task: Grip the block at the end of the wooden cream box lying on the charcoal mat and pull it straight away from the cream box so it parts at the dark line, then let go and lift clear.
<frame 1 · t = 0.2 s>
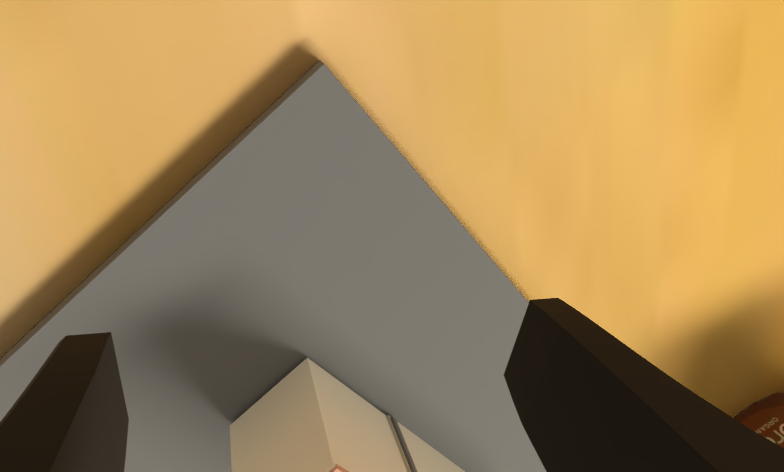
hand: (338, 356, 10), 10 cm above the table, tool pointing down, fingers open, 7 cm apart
food container: (738, 429, 35), on the table
mat: (349, 431, 25), on the table
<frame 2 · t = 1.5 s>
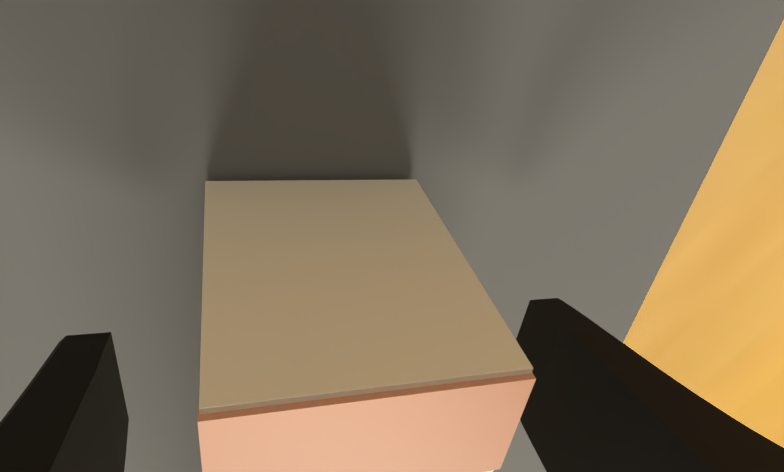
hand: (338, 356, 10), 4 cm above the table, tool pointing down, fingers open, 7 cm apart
mat: (299, 338, 14), on the table
block: (330, 369, 10), point 4 cm above the table, slide at 0.0 cm
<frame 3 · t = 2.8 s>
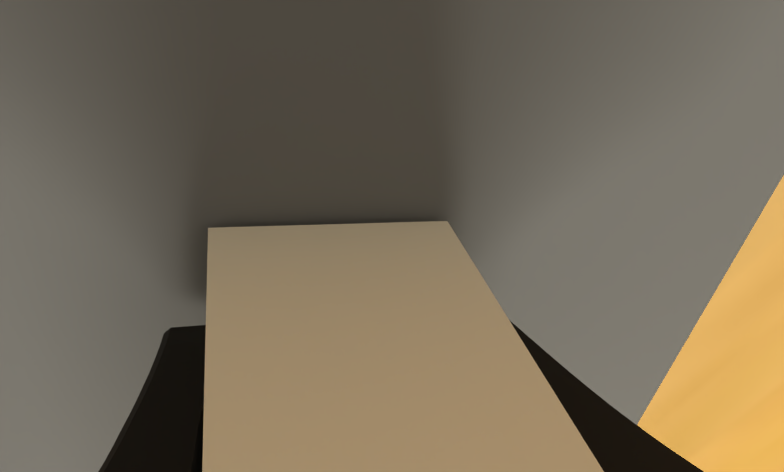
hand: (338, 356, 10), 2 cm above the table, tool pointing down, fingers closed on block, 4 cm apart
mat: (311, 386, 13), on the table
block: (352, 446, 9), point 4 cm above the table, slide at 0.0 cm, touching gripper
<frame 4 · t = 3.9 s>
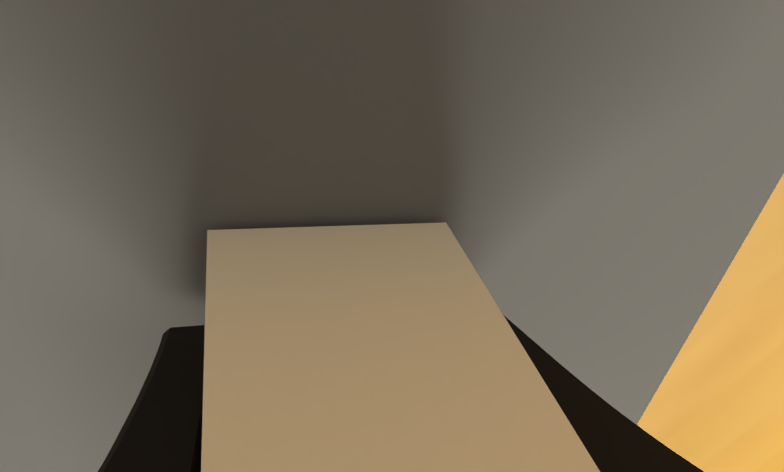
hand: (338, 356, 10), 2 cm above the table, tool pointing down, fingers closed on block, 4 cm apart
mat: (306, 456, 15), on the table
block: (351, 448, 9), point 4 cm above the table, slide at 2.8 cm, touching gripper
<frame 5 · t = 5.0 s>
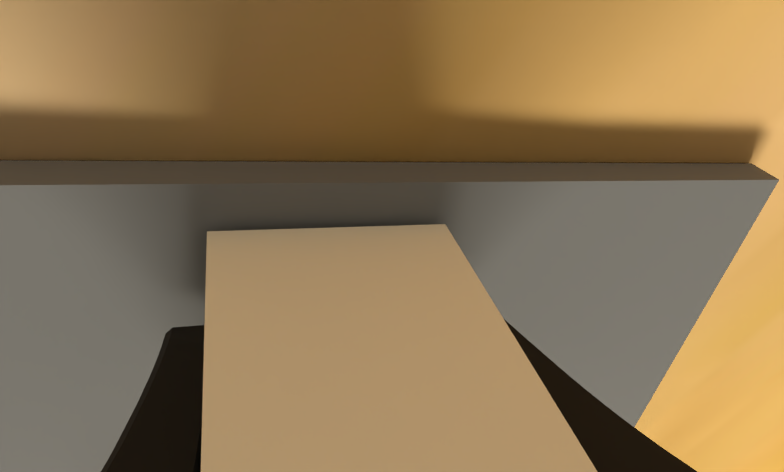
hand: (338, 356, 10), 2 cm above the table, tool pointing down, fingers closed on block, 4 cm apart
block: (350, 449, 9), point 4 cm above the table, slide at 6.9 cm, touching gripper
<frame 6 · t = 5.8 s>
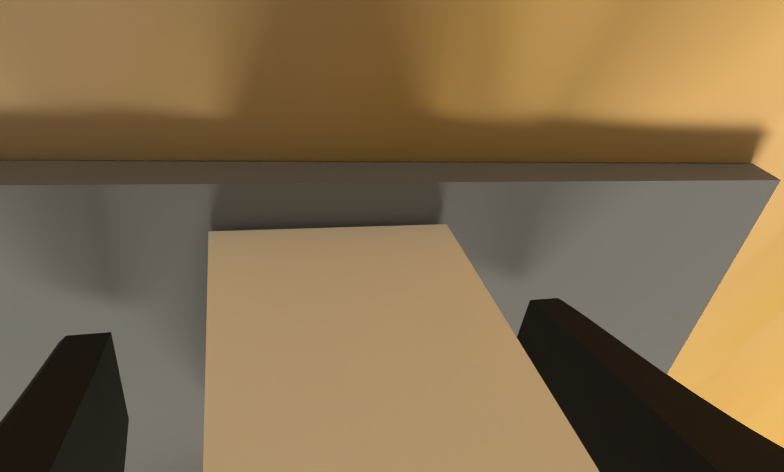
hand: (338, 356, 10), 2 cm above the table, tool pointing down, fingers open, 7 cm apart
block: (352, 449, 9), point 4 cm above the table, slide at 6.9 cm
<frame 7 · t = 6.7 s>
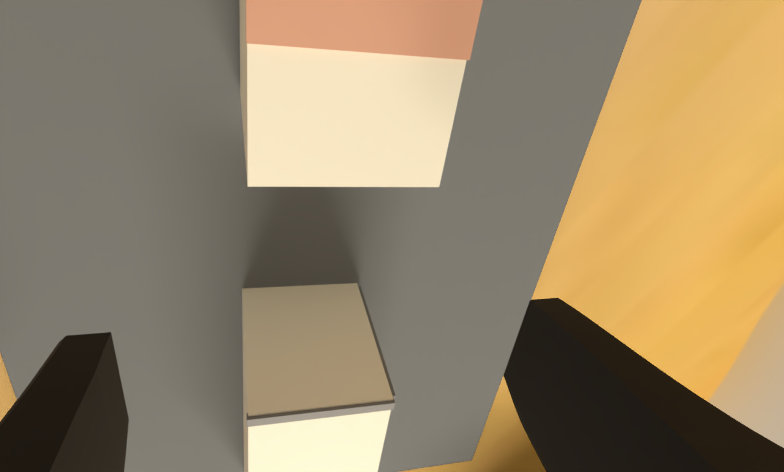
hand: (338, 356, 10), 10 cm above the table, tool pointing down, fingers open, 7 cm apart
mat: (298, 272, 21), on the table
block: (338, 35, 12), point 4 cm above the table, slide at 6.9 cm
cream box: (294, 386, 23), resting on mat
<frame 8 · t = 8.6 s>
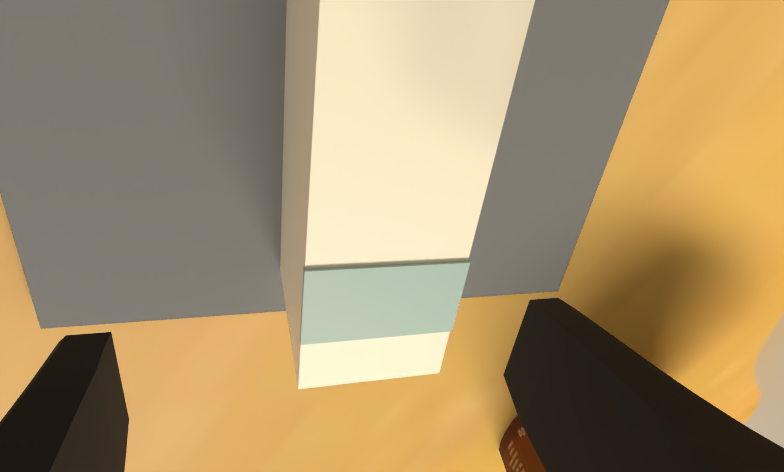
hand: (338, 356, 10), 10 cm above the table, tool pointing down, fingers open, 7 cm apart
food container: (578, 395, 31), on the table
cream box: (351, 126, 17), resting on mat
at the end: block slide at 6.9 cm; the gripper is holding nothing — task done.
